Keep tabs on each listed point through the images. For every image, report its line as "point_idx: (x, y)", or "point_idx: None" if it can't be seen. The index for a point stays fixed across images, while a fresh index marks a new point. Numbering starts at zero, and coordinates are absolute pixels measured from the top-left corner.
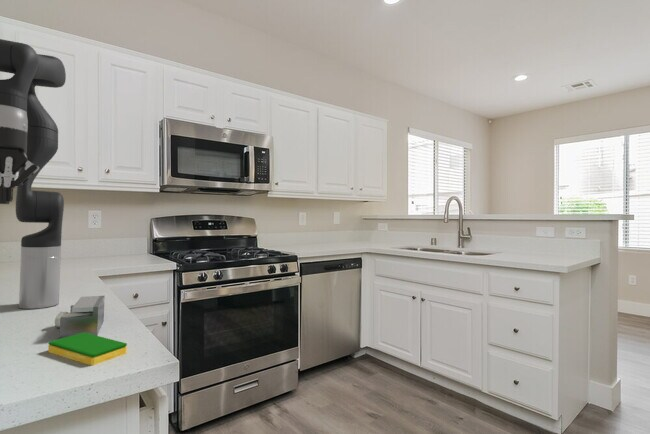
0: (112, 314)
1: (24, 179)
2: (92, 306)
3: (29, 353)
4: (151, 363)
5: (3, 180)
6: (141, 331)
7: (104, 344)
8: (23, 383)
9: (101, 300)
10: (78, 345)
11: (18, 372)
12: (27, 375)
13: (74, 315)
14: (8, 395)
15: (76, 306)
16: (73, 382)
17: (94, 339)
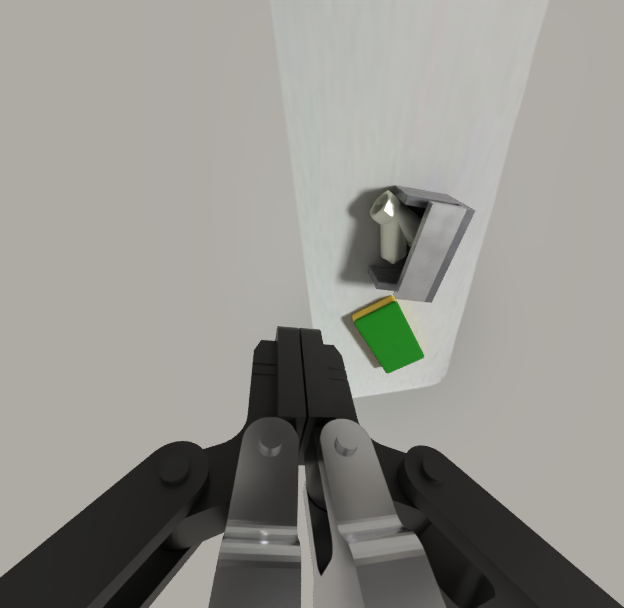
0: (480, 141)
1: (455, 554)
2: (424, 298)
3: (333, 313)
4: (427, 378)
5: (290, 503)
6: (467, 284)
7: (404, 353)
8: None
9: (451, 258)
10: (381, 347)
11: None
12: None
13: (401, 235)
14: None
15: (404, 289)
16: (364, 389)
17: (399, 335)
